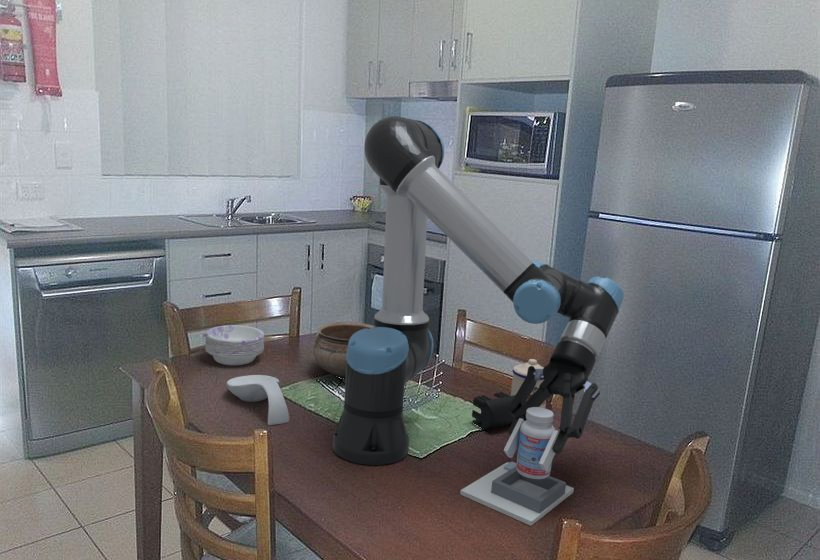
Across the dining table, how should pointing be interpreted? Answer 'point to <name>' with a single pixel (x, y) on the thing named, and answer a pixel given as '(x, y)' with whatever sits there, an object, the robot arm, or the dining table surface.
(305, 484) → the dining table surface
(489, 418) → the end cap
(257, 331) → the paper bowls
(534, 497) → the panel
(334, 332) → the cooking pot
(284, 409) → the spoon rest
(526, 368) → the teacup with lid
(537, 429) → the pill bottle
